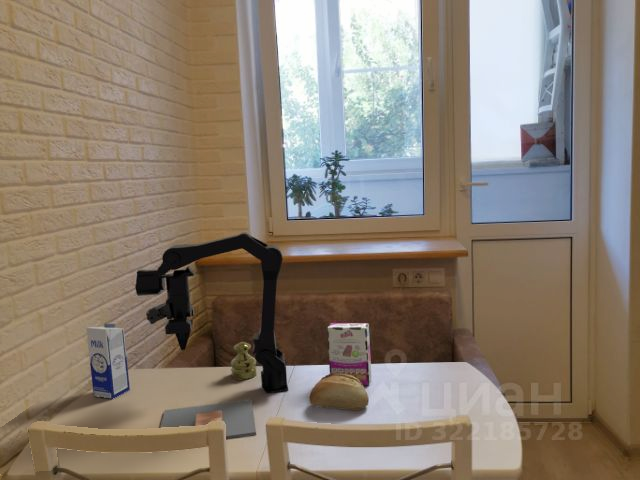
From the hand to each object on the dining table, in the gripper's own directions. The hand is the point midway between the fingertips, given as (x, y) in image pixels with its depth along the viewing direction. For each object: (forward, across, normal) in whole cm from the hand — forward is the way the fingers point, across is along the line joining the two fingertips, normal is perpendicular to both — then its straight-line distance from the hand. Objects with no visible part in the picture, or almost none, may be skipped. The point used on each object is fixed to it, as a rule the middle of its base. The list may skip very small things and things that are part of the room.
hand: (183, 349), depth 142 cm
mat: (+13, +18, +6) cm, 23 cm away
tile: (+12, +17, +6) cm, 21 cm away
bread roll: (+13, +18, +38) cm, 45 cm away
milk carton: (+13, -8, -21) cm, 26 cm away
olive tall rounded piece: (+13, -10, +16) cm, 23 cm away
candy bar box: (+13, +4, +45) cm, 47 cm away
